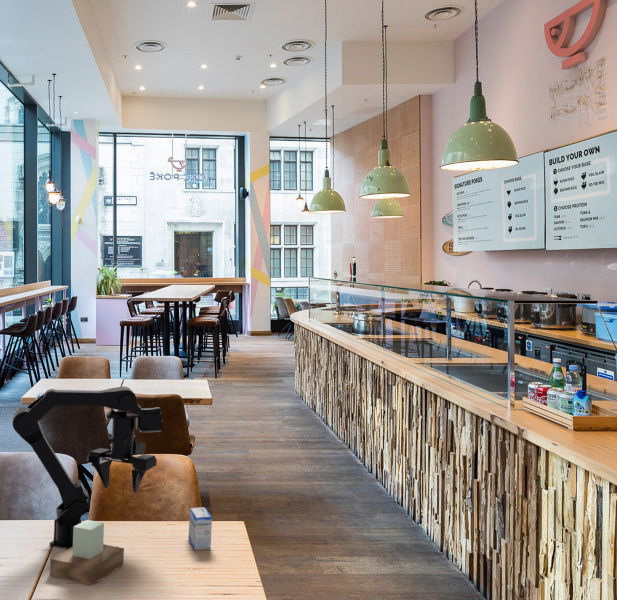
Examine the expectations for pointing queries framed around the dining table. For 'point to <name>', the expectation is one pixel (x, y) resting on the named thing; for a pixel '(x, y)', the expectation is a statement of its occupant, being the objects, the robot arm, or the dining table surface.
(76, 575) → the walnut base
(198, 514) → the medicine box
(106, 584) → the dining table surface
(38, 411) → the robot arm
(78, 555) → the sage block
